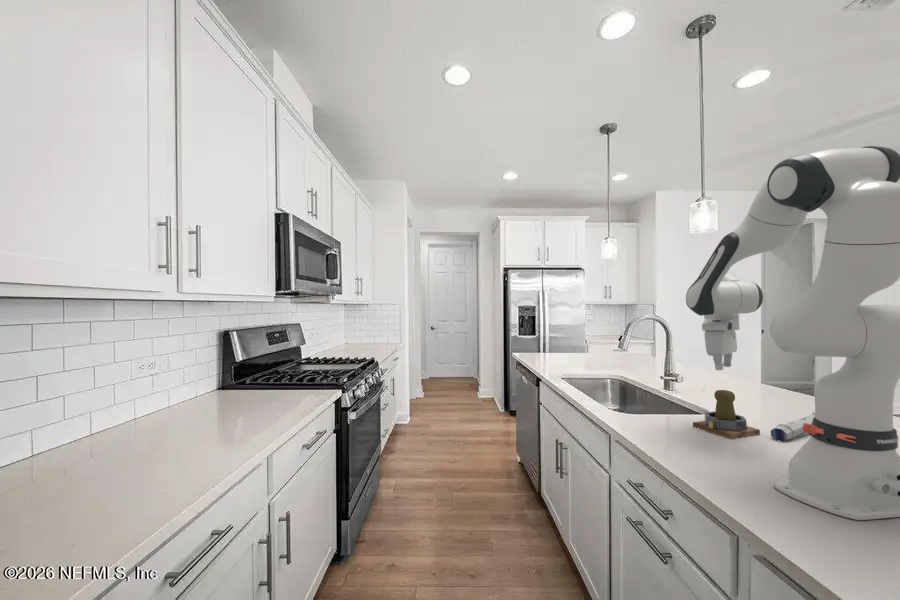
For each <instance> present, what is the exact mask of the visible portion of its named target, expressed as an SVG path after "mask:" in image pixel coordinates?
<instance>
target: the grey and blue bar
mask: <svg viewBox="0 0 900 600" xmlns="http://www.w3.org/2000/svg"><path fill="white" fill-rule="evenodd" d="M814 417H815V409H814V410H813V411H812V413H811V414H810V415H807V416H805V417H801V418H799V419H795V420H792V421H790V422H786V423H780V424H778V425H776V426H775V427H774V428H773V429H771V430H770V437H771V438H773V439H774V440H775V439H776V440H775V441H778V440H780V441H779V442H782V441H783V442H782V443H784V442H786V441H791V440H793V439H796V436H799V435H800V434H802V433H804V432H803V430H802V426H803V424H804V423H808V424H810V425H811V423H812V421H813V418H814ZM788 439H789V440H788Z"/></svg>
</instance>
